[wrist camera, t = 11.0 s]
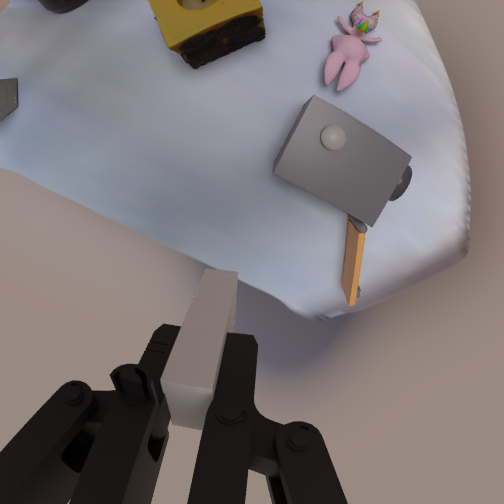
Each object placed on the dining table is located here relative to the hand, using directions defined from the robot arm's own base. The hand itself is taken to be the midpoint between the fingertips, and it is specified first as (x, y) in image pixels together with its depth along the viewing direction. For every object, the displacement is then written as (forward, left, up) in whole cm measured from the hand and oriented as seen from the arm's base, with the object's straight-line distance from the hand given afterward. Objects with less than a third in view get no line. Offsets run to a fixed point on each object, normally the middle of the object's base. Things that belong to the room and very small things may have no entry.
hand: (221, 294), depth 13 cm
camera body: (+8, +8, -25) cm, 27 cm away
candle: (-14, +18, -25) cm, 34 cm away
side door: (+15, -1, -24) cm, 28 cm away
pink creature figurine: (+2, +23, -25) cm, 34 cm away
